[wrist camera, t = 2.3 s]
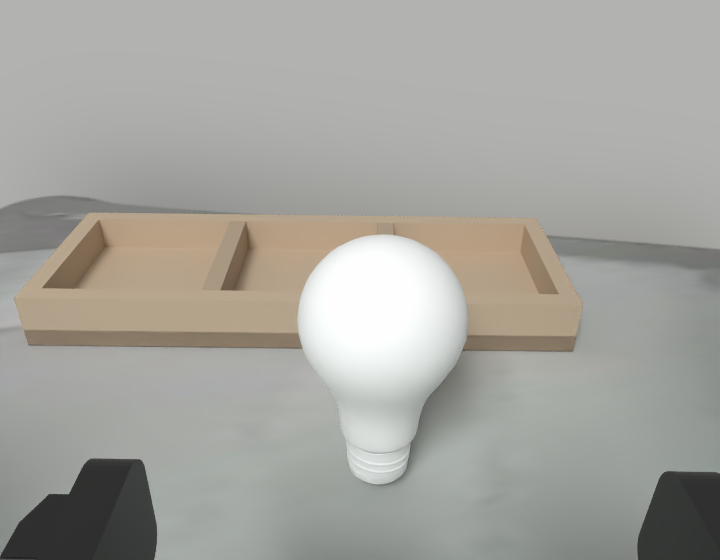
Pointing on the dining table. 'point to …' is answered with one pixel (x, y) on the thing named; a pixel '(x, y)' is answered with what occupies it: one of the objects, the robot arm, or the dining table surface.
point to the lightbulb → (382, 342)
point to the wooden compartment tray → (278, 279)
